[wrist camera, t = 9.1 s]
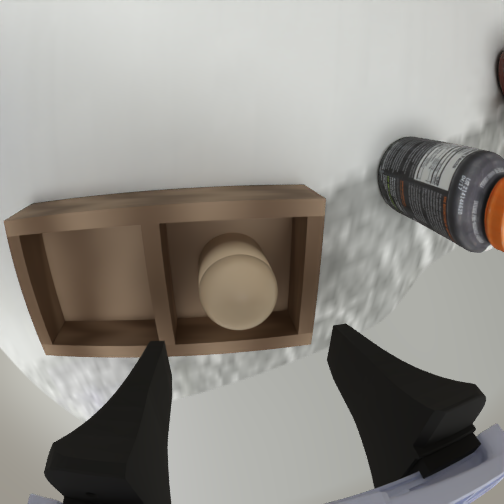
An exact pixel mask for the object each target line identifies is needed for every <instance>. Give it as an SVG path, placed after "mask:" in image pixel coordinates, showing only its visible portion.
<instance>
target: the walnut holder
mask: <svg viewBox="0 0 504 504" xmlns="http://www.w3.org/2000/svg"><path fill="white" fill-rule="evenodd" d="M325 203H326V198H324V197H322V196H321V195H319V194H318V193H316V192H315V191H313V190H312V189H310V188H308V187H307V186H305V185H249V186H221V187H200V188H182V189H167V190H153V191H140V192H129V193H118V194H108V195H98V196H89V197H80V198H71V199H63V200H56V201H48V202H41V203H34V204H31V205H29V206H27V207H26V208H24V209H22V210H21V211H19V212H18V213H16V214H14V215H13V216H11V217H9V218H8V219H6V220H5V221H4V225H5V230H6V235H7V239H8V243H9V248H10V252H11V255H12V259H13V263H14V267H15V270H16V274H17V277H18V281H19V284H20V287H21V290H22V293H23V296H24V299H25V302H26V305H27V308H28V311H29V314H30V316H31V319H32V322H33V324H34V327H35V330H36V332H37V335H38V337H39V340H40V342H41V344H42V347H43V349H44V351H45V354H46V355H54V356H75V357H141V355H142V353H143V352H144V350H145V348H146V346H147V345H148V343H149V342H150V341H165V345H166V350H167V355H168V357H170V356H192V355H209V354H223V353H236V352H247V351H257V350H267V349H276V348H285V347H293V346H301V345H308V344H311V340H312V333H313V325H314V317H315V309H316V301H317V292H318V283H319V274H320V264H321V253H322V242H323V230H324V217H325ZM225 233H241V234H245V235H247V236H249V237H251V238H252V239H254V240H255V241H256V242H257V243H258V244H259V246H260V247H261V249H262V251H263V253H264V255H265V257H266V259H267V261H268V263H269V265H270V267H271V269H272V271H273V273H274V275H275V277H276V280H277V285H278V297H277V301H276V305H275V307H274V309H273V311H272V312H271V314H270V315H269V317H268V318H267V319H266V320H264V321H263V322H262V323H261V324H259V325H257V326H255V327H253V328H250V329H246V330H231V329H227V328H224V327H222V326H220V325H218V324H216V323H215V322H214V321H212V320H211V319H210V318H209V317H208V315H207V314H206V313H205V311H204V309H203V307H202V305H201V302H200V298H199V279H198V261H199V256H200V253H201V251H202V249H203V248H204V246H205V245H206V244H207V243H208V242H209V241H210V240H212V239H213V238H215V237H216V236H218V235H221V234H225Z"/></svg>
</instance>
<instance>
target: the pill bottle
mask: <svg viewBox="0 0 504 504" xmlns="http://www.w3.org/2000/svg"><path fill="white" fill-rule="evenodd" d="M379 185H380V189H381V192H382V195H383V197H384V199H385V201H386V202H387V203H388V204H389V205H390V206H391V207H392V208H393V209H394V210H396V211H397V212H399V213H401V214H403V215H405V216H407V217H409V218H411V219H413V220H415V221H417V222H419V223H420V224H422V225H424V226H426V227H428V228H429V229H431V230H433V231H435V232H437V233H438V234H440V235H442V236H444V237H446V238H447V239H449V240H451V241H452V242H454V243H456V244H457V245H459V246H461V247H463V248H464V249H466V250H468V251H470V252H477V253H481V252H484V251H487V250H490V249H491V248H493V247H494V248H496V249H498V250H501V251H503V252H504V159H503V158H502V157H501V156H499V155H498V154H496V153H494V152H490V151H486V150H481V149H477V148H472V147H468V146H463V145H458V144H452V143H446V142H441V141H435V140H429V139H423V138H417V137H406V138H402V139H399V140H398V141H396V142H395V143H393V144H392V145H391V146H390V147H389V148H388V150H387V151H386V152H385V154H384V156H383V158H382V161H381V164H380V169H379Z"/></svg>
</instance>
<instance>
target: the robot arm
mask: <svg viewBox="0 0 504 504" xmlns="http://www.w3.org/2000/svg"><path fill="white" fill-rule="evenodd" d="M327 361H328V365H329V367H330V370H331V374H332V376H333V379H334V381H335V383H336V385H337V387H338V389H339V391H340V393H341V395H342V397H343V399H344V401H345V403H346V404H347V406H348V408H349V410H350V412H351V414H352V416H353V418H354V421H355V423H356V425H357V428H358V431H359V434H360V437H361V440H362V443H363V446H364V449H365V452H366V455H367V459H368V462H369V466H370V470H371V474H372V478H373V483H374V487H375V489H372V490H369V491H366V492H363V493H360V494H357V495H354V496H351V497H347V498H344V499H340V500H337V501H333V502H329V503H325V504H470V503H471V502H473V501H474V500H475V499H477V498H479V497H480V496H482V495H483V494H484V493H486V492H487V491H489V490H490V489H491V488H493V487H494V486H495V485H496V484H497V483H499V482H500V480H502V479H503V478H504V431H503V430H502V429H501V428H500V426H499V425H498V424H494V425H493V426H491V427H490V428H488V429H486V430H484V431H483V432H482V433H480V434H479V435H478V436H477V437H476V436H475V435H474V434H473V432H474V431H475V430H476V428H475V427H474V425H473V422H474V421H475V419H476V418H477V416H478V415H479V413H480V412H481V410H482V409H483V407H484V405H485V402H486V397H485V395H484V394H483V393H482V392H481V391H480V389H479V388H478V387H477V386H476V385H475V384H471V383H465V382H460V381H455V380H451V379H447V378H443V377H440V376H437V375H434V374H431V373H428V372H426V371H423V370H420V369H418V368H416V367H414V366H412V365H410V364H408V363H406V362H404V361H402V360H400V359H398V358H396V357H395V356H393V355H391V354H390V353H388V352H386V351H385V350H383V349H382V348H380V347H379V346H377V345H376V344H374V343H373V342H371V341H370V340H368V339H367V338H366V337H364V336H363V335H361V334H360V333H359V332H357V331H356V330H354V329H353V328H352V327H350V326H349V325H347V324H340V325H334V326H333V330H332V336H331V341H330V347H329V352H328V357H327ZM171 402H172V374H171V369H170V365H169V360H168V355H167V350H166V345H165V341H150V342H149V343H148V345H147V346H146V348H145V350H144V352H143V353H142V355H141V357H140V358H139V360H138V362H137V363H136V365H135V366H134V368H133V369H132V371H131V372H130V374H129V375H128V377H127V378H126V380H125V381H124V382H123V384H122V385H121V386H120V388H119V389H118V390H117V391H116V393H115V394H114V395H113V396H112V397H111V398H110V399H109V401H108V402H107V403H106V404H105V405H104V406H103V407H102V408H101V409H100V410H99V411H98V412H97V413H96V414H94V415H93V416H92V417H91V418H90V419H89V420H87V421H86V422H85V423H84V424H82V425H81V426H80V427H78V428H77V429H75V430H74V431H73V432H71V433H69V434H68V435H66V436H65V437H63V438H61V439H59V440H58V441H56V442H54V443H53V444H52V447H51V449H50V452H49V455H48V459H47V463H46V467H45V471H44V474H45V477H46V478H47V480H48V481H49V482H50V483H51V484H52V485H53V486H54V487H55V488H56V489H57V490H58V491H59V492H60V493H61V494H62V495H63V496H64V501H63V503H61V502H59V501H57V500H54V499H51V498H47V497H43V496H39V495H36V494H30V496H29V501H28V504H171V497H170V486H169V472H168V449H167V446H168V431H169V421H170V411H171Z"/></svg>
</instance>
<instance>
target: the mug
mask: <svg viewBox="0 0 504 504" xmlns="http://www.w3.org/2000/svg"><path fill="white" fill-rule="evenodd" d="M498 77H499V84H500V87H501V90H502V93H503V95H504V51H503V52H502V54H501V56H500V59H499V64H498Z"/></svg>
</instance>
